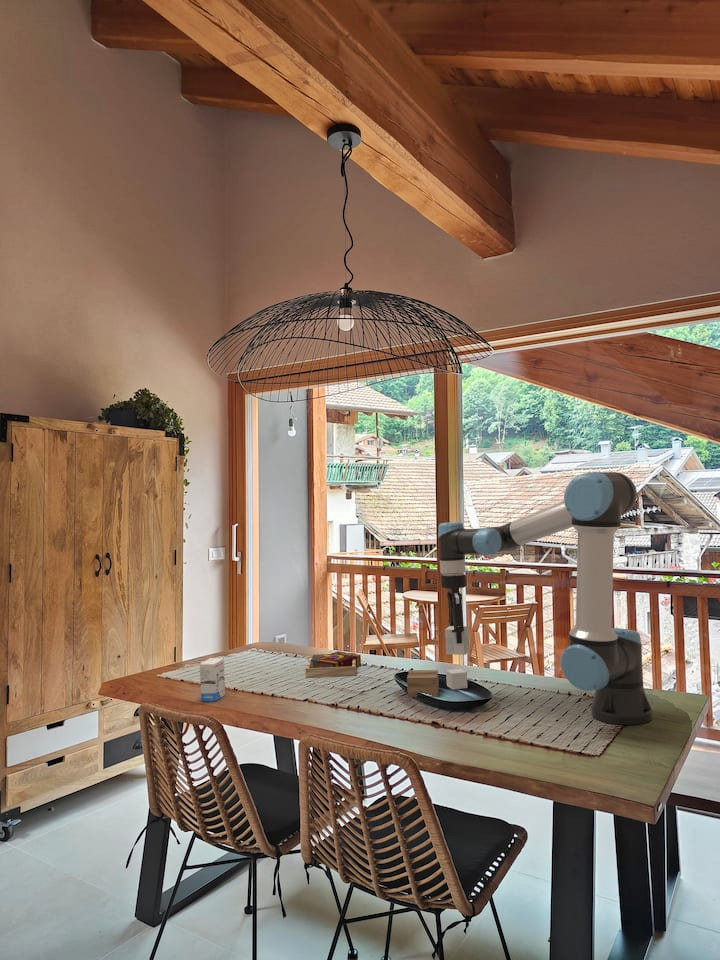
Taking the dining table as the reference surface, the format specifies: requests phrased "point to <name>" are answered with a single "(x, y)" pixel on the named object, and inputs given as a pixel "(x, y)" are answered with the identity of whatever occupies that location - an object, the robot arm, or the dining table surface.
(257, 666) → the dining table surface
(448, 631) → the skincare box
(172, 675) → the dining table surface
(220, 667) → the ink box
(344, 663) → the decorative book
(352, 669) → the book frame
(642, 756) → the dining table surface
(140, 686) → the dining table surface
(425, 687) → the walnut block
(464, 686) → the grey cube
